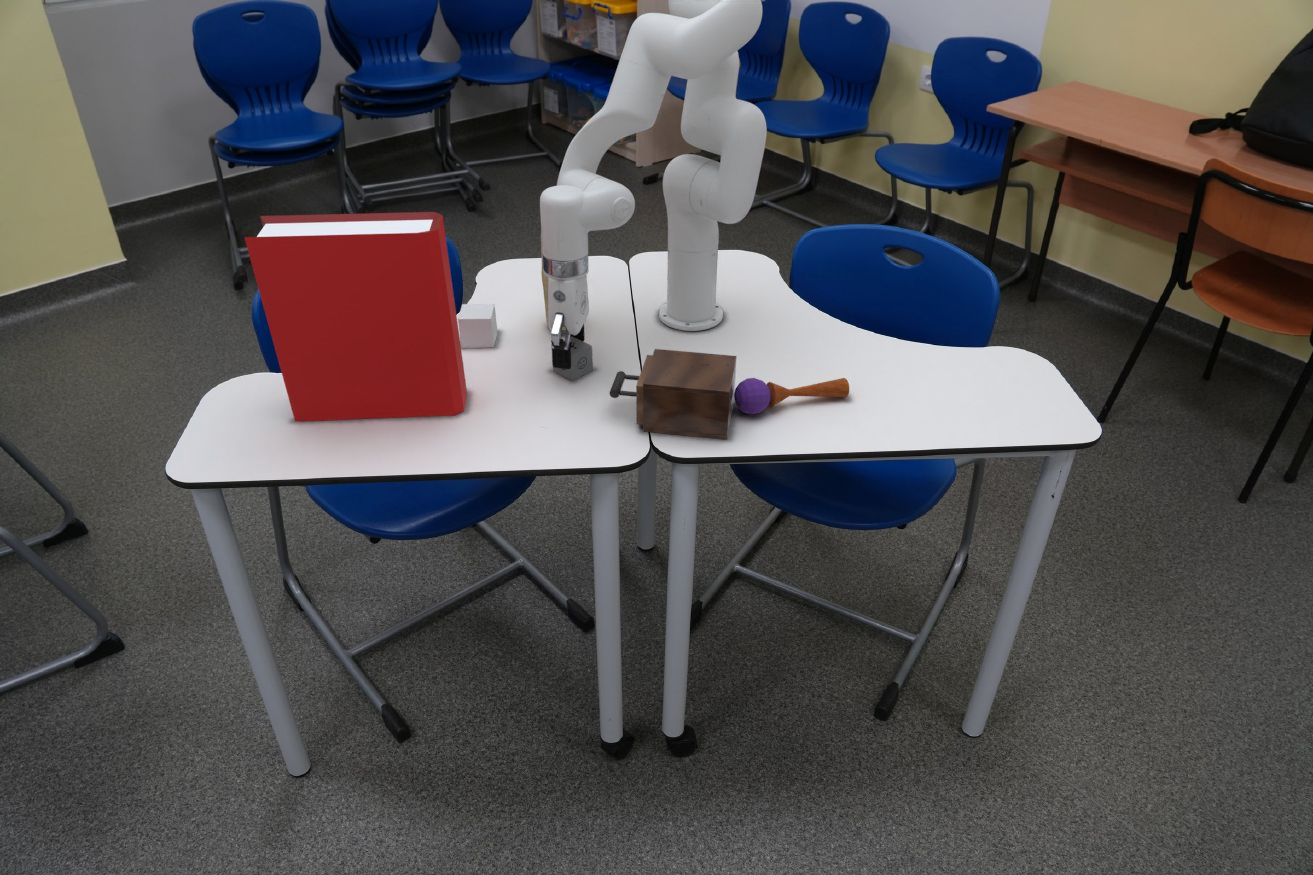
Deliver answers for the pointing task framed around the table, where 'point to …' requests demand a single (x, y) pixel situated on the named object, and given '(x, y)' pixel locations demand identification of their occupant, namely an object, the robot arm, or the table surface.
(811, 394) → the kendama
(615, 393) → the drawer
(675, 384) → the cabinet
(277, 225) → the book
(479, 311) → the white cube
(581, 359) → the dice cube
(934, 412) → the table surface
